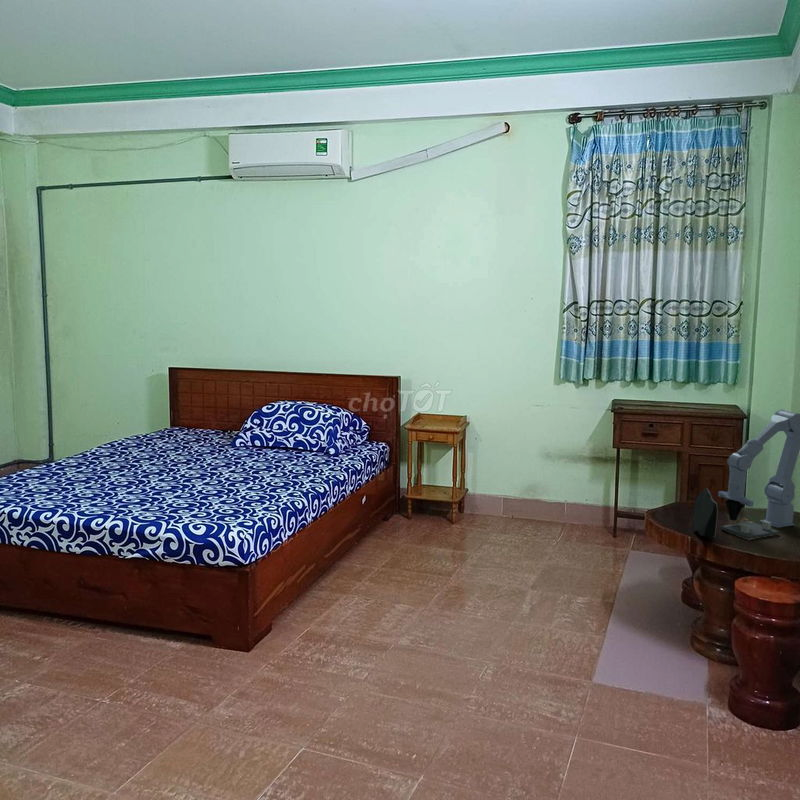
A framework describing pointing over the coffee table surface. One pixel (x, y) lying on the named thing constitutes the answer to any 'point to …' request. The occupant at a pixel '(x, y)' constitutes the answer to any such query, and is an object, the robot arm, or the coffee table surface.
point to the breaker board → (755, 530)
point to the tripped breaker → (744, 521)
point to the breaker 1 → (745, 528)
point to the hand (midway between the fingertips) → (733, 519)
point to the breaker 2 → (766, 525)
